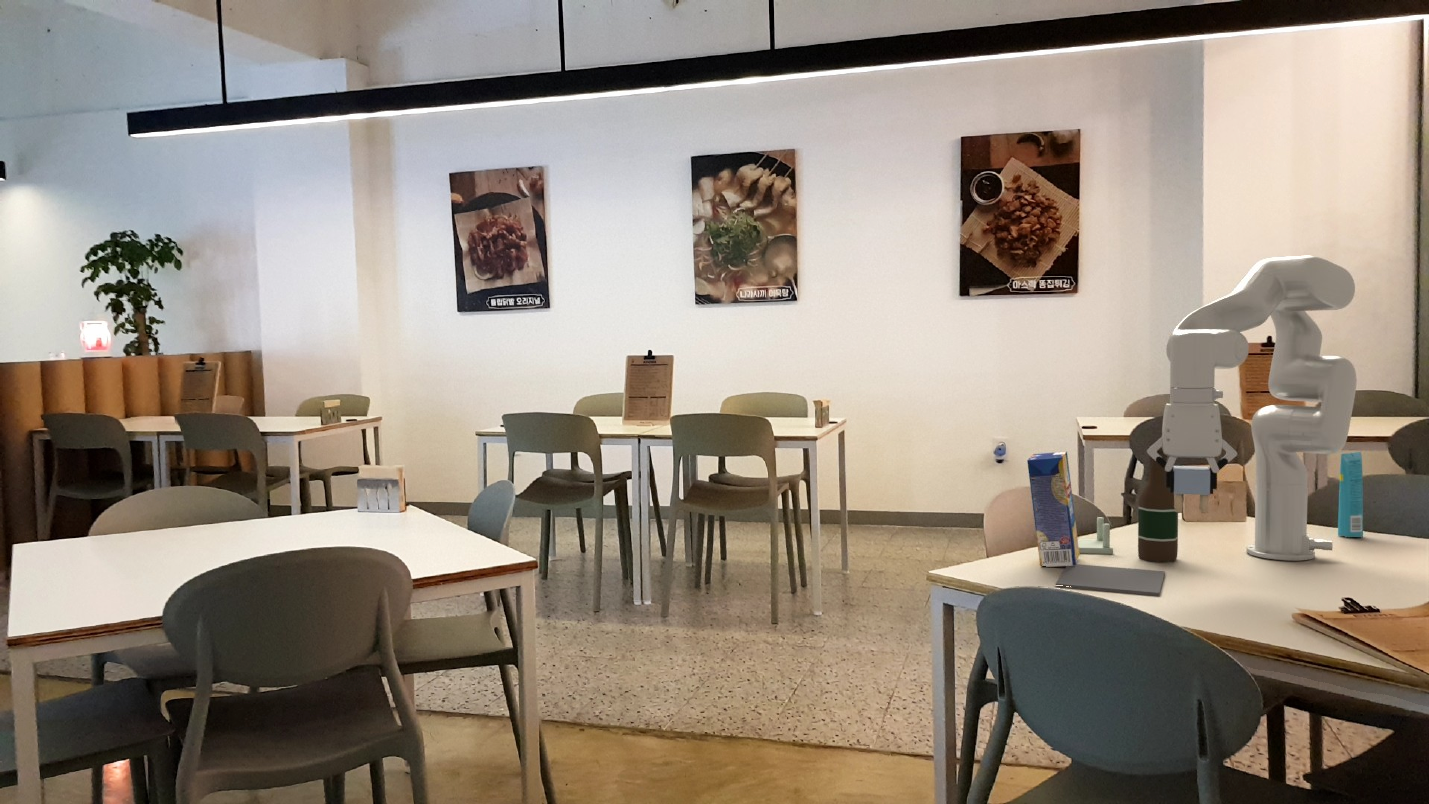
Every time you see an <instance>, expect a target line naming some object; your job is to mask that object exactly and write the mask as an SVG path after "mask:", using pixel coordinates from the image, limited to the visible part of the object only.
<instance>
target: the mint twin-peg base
mask: <svg viewBox="0 0 1429 804" xmlns="http://www.w3.org/2000/svg"><path fill="white" fill-rule="evenodd" d="M1104 519H1105V518H1104V517H1102V516H1101V517H1100V516H1099V517H1098V516H1097V517H1096V538H1078V537H1077V538H1078V547H1079V554H1097V555H1098V554H1101V555H1102V554H1104V555H1105V554H1106V555H1108V554H1109V555H1114V548H1113V546H1111V543H1110V542H1111V536H1110V535H1111V534H1110V533H1111V532H1110V531H1111V524H1110V523H1104V521H1105V520H1104Z"/></svg>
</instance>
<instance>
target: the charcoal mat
mask: <svg viewBox="0 0 1429 804" xmlns="http://www.w3.org/2000/svg"><path fill="white" fill-rule="evenodd" d="M1165 573H1166V572H1165V570H1155V569H1154V570H1152V569H1143V568H1142V569H1141V568H1130V567H1129V568H1128V567H1118V566H1117V567H1116V566H1114V567H1113V566H1106V565H1105V566H1103V565H1090V564H1080V563H1078V564H1077V563H1076V565H1075V566H1065V568H1064V570H1063V571H1062V573H1061V574H1060V575H1059V577H1058V579H1057V581H1056V582H1055V585H1063V586H1057V587H1056V588H1066V586H1069V587H1070V586H1071V587H1072V588H1071V589H1075V588H1080V589H1079V590H1088V591H1089V590H1090V591H1099V592H1107V593H1108V592H1111V593H1119V592H1120V593H1121V594H1132V595H1133V594H1134V595H1141V596H1142V595H1144V596H1151V597H1152V596H1155V597H1160V595H1161V591H1162V587H1163V583H1164V579H1165ZM1055 585H1054V586H1055ZM1066 589H1067V588H1066Z"/></svg>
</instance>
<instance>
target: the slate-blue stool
mask: <svg viewBox="0 0 1429 804" xmlns="http://www.w3.org/2000/svg"><path fill="white" fill-rule="evenodd" d="M1209 468H1210V467H1208V466H1196V465H1195V466H1192V465H1189V466H1188V465H1173V471H1174V508H1175V512H1178V513H1183V495H1195V496H1196V495H1197V496H1198V495H1199V510H1200V513H1201V514H1209V496H1210V495H1211V494H1210V470H1209Z"/></svg>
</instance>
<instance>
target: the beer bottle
mask: <svg viewBox="0 0 1429 804" xmlns="http://www.w3.org/2000/svg"><path fill="white" fill-rule="evenodd" d="M1152 445H1153V444H1151V445H1150V446H1149V448H1150V447H1151V446H1152ZM1157 453H1158V454H1159V455H1160V456H1161V457H1162V458H1163V459H1164V460H1165V461H1167V458H1168V456H1167V455H1165V454H1164V453H1163V451H1162V447H1161V448H1160V449H1158V450H1157ZM1149 456H1150V455H1149ZM1137 508H1138V510H1137V511H1138V512H1137V513H1138V514H1137V516H1138V518H1137V519H1138V521H1137V525H1138V526H1137V530H1138V531H1137V555H1138V558H1139V559H1141V560H1144V561H1146V562H1152V563H1160V562H1161V563H1162V564H1163V562H1164V563H1174V562H1175V561H1176V560H1177V558H1178V552H1179V551H1178V550H1179V549H1178V548H1179V546H1178V545H1179V541H1178V540H1179V512H1175V508H1174V492H1173V493H1170V488H1166V470H1165V469H1164V468H1163V467H1162V466H1160V465H1159V464H1158V463H1157V462H1156V461H1155V460H1154V459H1153V458H1152V457H1151V456H1150V457H1149V471H1148V479H1147V484H1145V486H1144V488H1143V489H1142V490H1141V493H1140V494H1139V497H1138V507H1137Z"/></svg>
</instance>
